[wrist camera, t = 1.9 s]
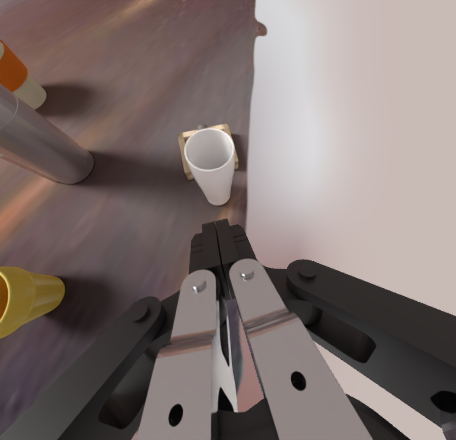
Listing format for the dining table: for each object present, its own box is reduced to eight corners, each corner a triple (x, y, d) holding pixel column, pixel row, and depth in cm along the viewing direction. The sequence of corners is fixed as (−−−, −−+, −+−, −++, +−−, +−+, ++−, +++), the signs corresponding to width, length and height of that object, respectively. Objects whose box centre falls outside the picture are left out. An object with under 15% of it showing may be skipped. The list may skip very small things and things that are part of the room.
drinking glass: (227, 176, 37) (224, 120, 22) (238, 203, 35) (243, 161, 21) (198, 186, 36) (177, 136, 22) (208, 213, 35) (191, 179, 20)
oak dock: (188, 180, 37) (183, 171, 33) (181, 142, 39) (175, 129, 36) (238, 169, 37) (238, 159, 34) (227, 132, 40) (226, 118, 36)
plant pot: (81, 266, 33) (20, 267, 23) (67, 325, 30) (-9, 354, 20) (31, 264, 33) (-51, 265, 23) (12, 323, 30) (-87, 350, 21)
